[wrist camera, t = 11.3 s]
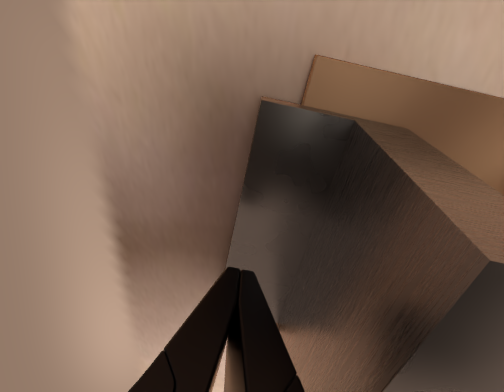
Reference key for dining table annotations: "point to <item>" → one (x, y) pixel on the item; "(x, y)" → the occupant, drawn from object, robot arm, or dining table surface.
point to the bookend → (372, 254)
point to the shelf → (417, 112)
